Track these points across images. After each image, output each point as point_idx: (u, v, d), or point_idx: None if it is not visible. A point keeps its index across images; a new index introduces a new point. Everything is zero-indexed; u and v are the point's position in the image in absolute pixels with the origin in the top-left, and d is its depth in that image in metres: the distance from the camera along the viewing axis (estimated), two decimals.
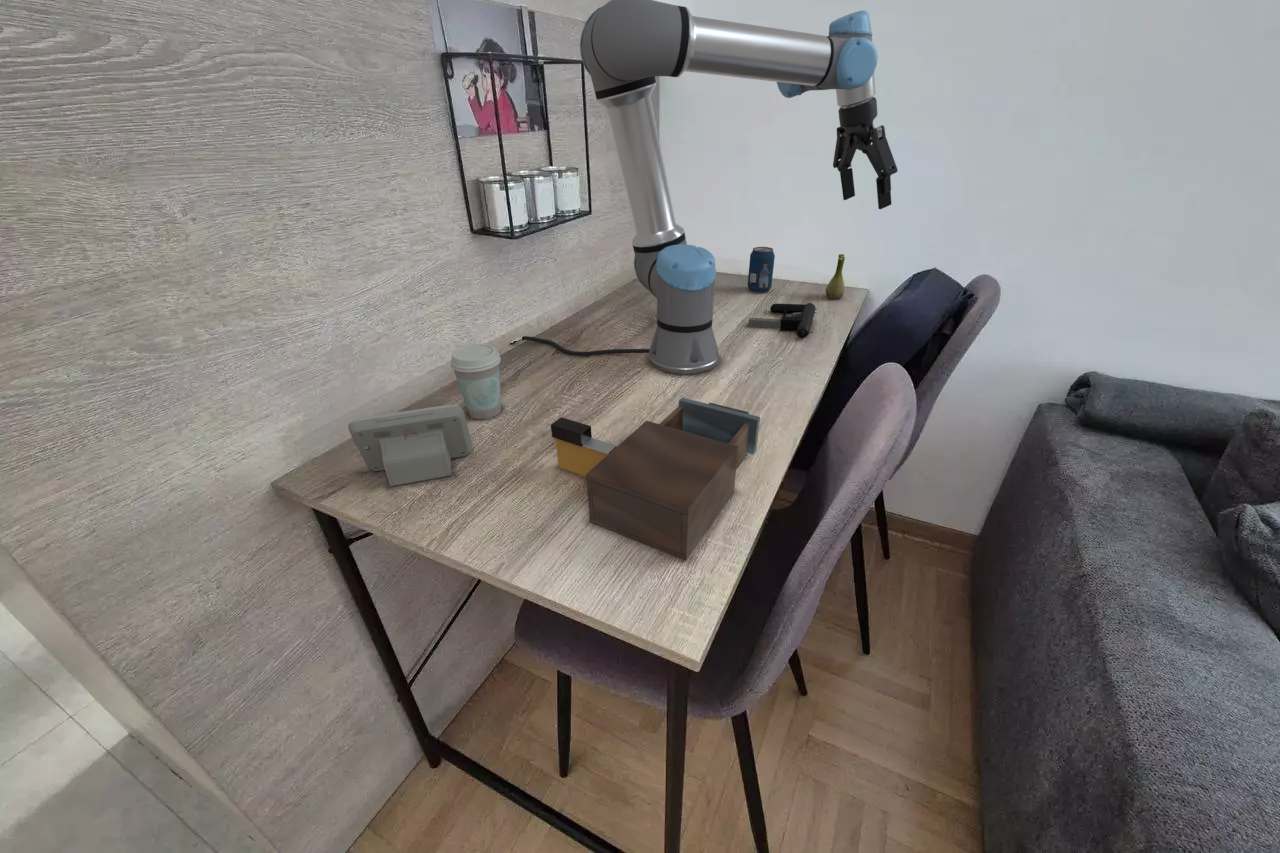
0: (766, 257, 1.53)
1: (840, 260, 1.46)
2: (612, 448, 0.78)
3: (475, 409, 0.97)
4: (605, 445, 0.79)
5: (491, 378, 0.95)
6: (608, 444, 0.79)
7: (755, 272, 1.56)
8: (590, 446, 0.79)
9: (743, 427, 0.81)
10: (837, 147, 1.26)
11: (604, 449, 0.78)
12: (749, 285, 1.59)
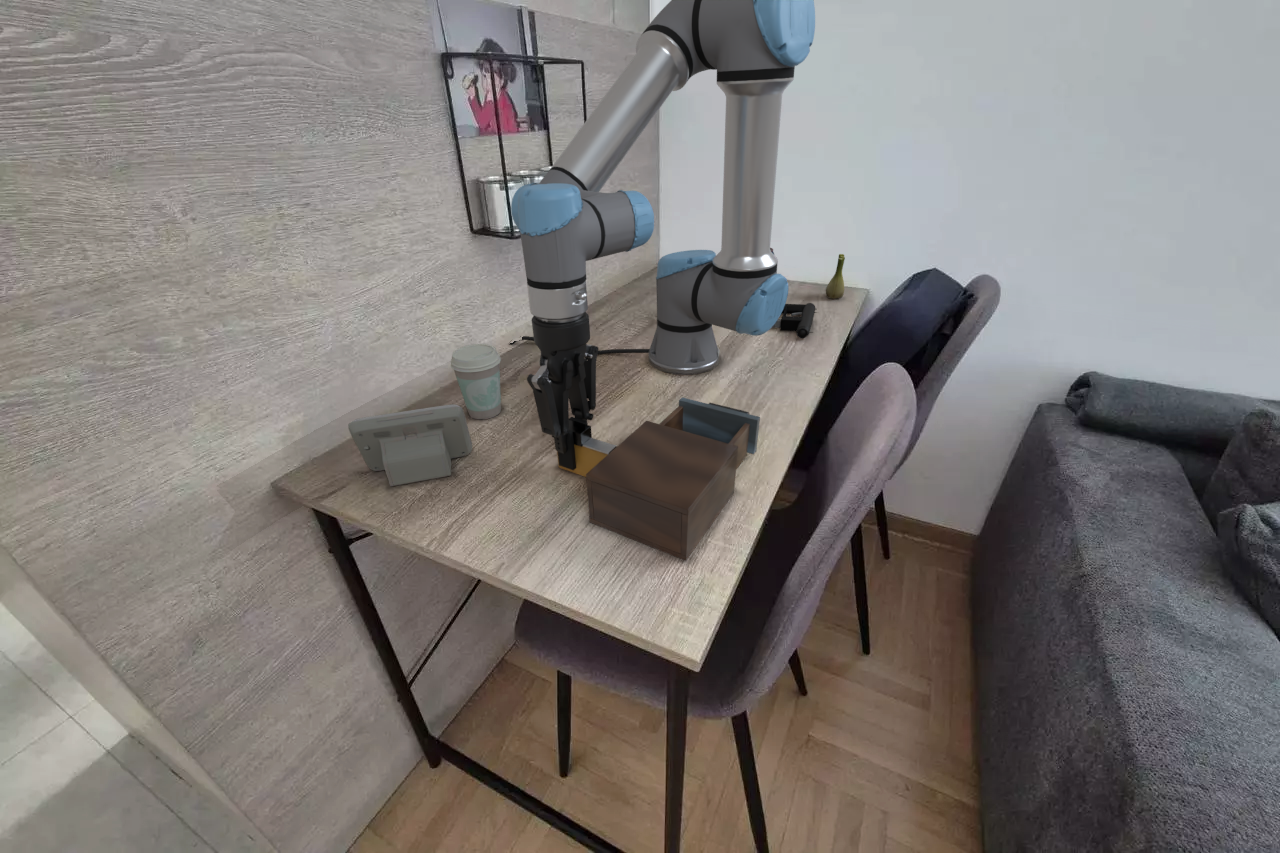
0: None
1: (840, 260, 1.46)
2: (612, 448, 0.78)
3: (475, 409, 0.97)
4: (605, 445, 0.79)
5: (491, 378, 0.95)
6: (608, 444, 0.79)
7: None
8: (590, 446, 0.79)
9: (743, 427, 0.81)
10: None
11: (604, 449, 0.78)
12: None
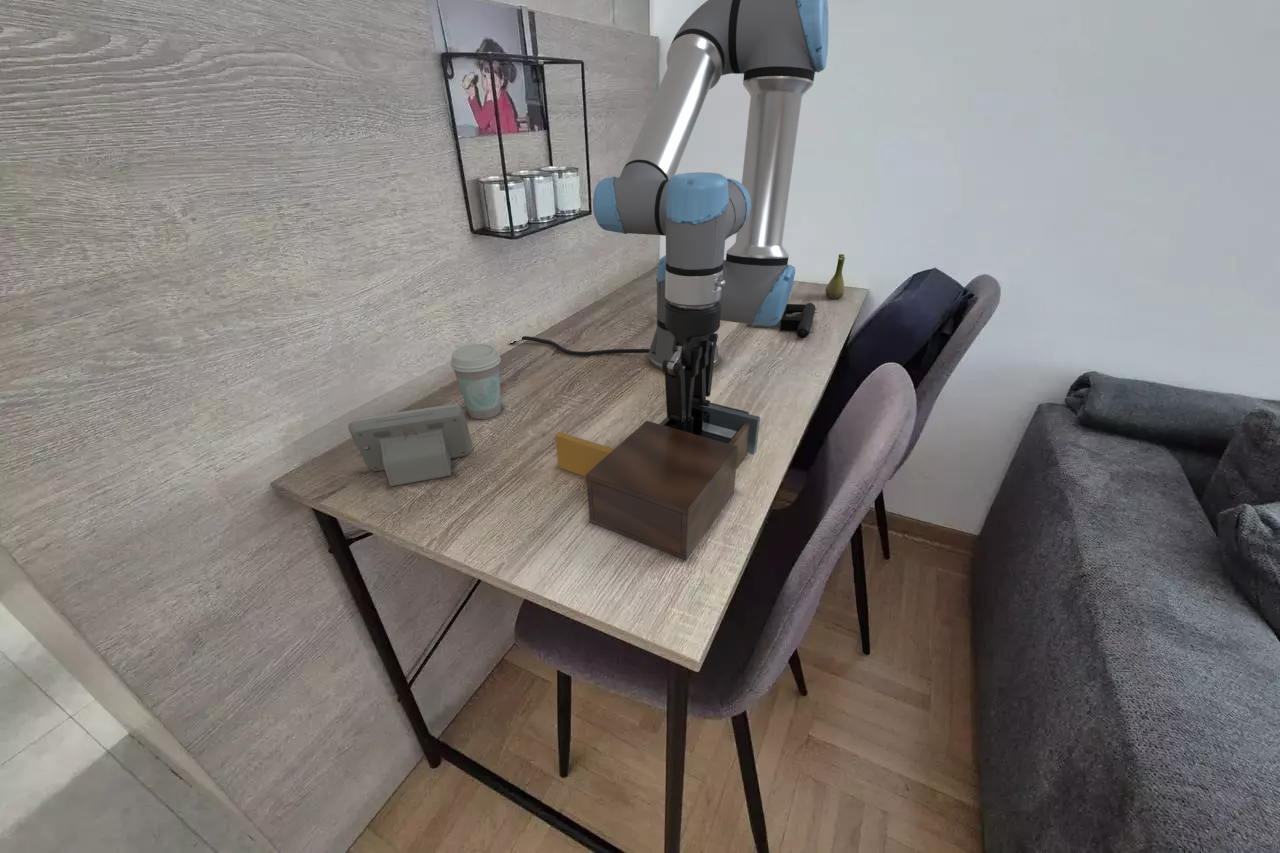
0: None
1: (840, 260, 1.46)
2: (733, 433, 0.80)
3: (475, 409, 0.97)
4: (725, 431, 0.80)
5: (491, 378, 0.95)
6: (728, 430, 0.81)
7: None
8: (711, 432, 0.80)
9: (743, 427, 0.81)
10: None
11: (726, 434, 0.79)
12: None
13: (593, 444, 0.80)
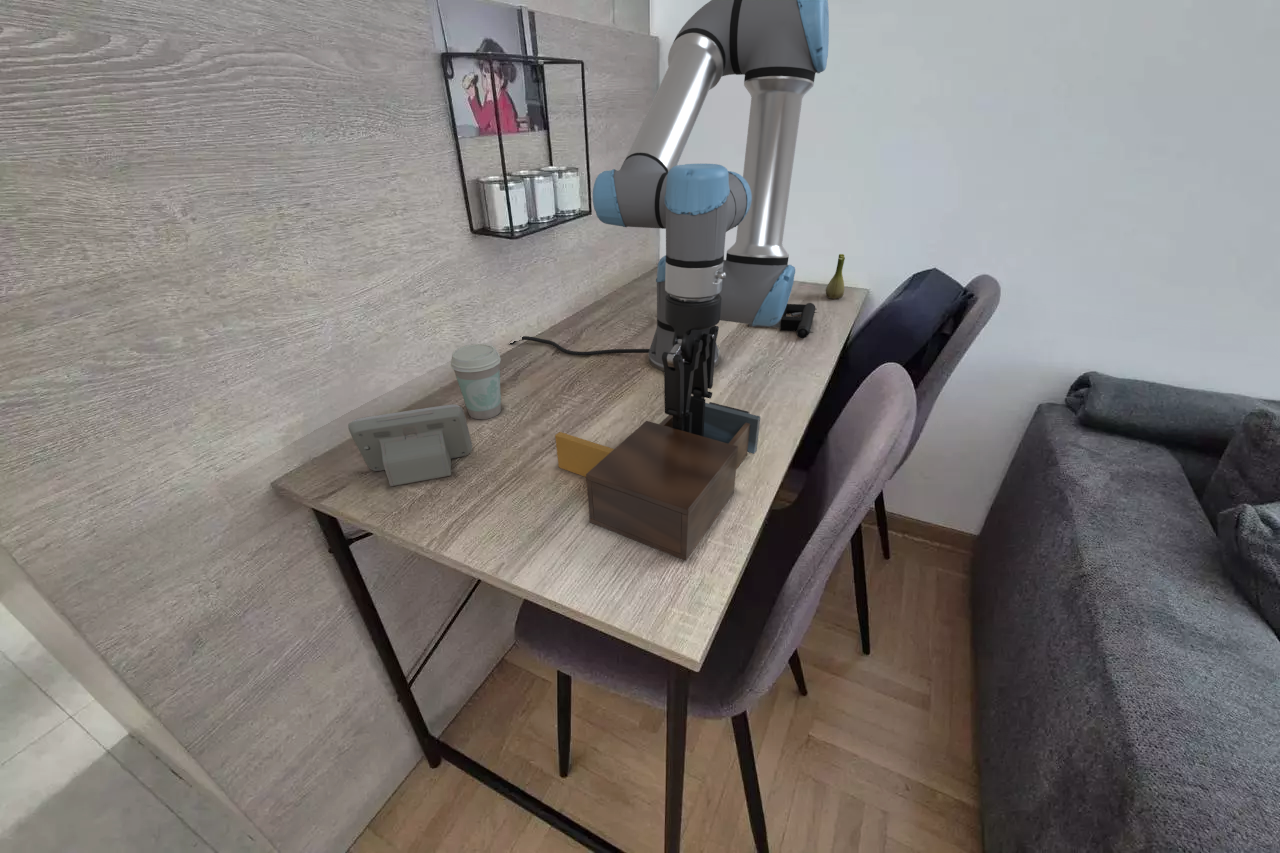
0: None
1: (840, 260, 1.46)
2: None
3: (475, 409, 0.97)
4: None
5: (491, 378, 0.95)
6: None
7: None
8: None
9: (743, 427, 0.81)
10: None
11: None
12: None
13: (593, 444, 0.80)
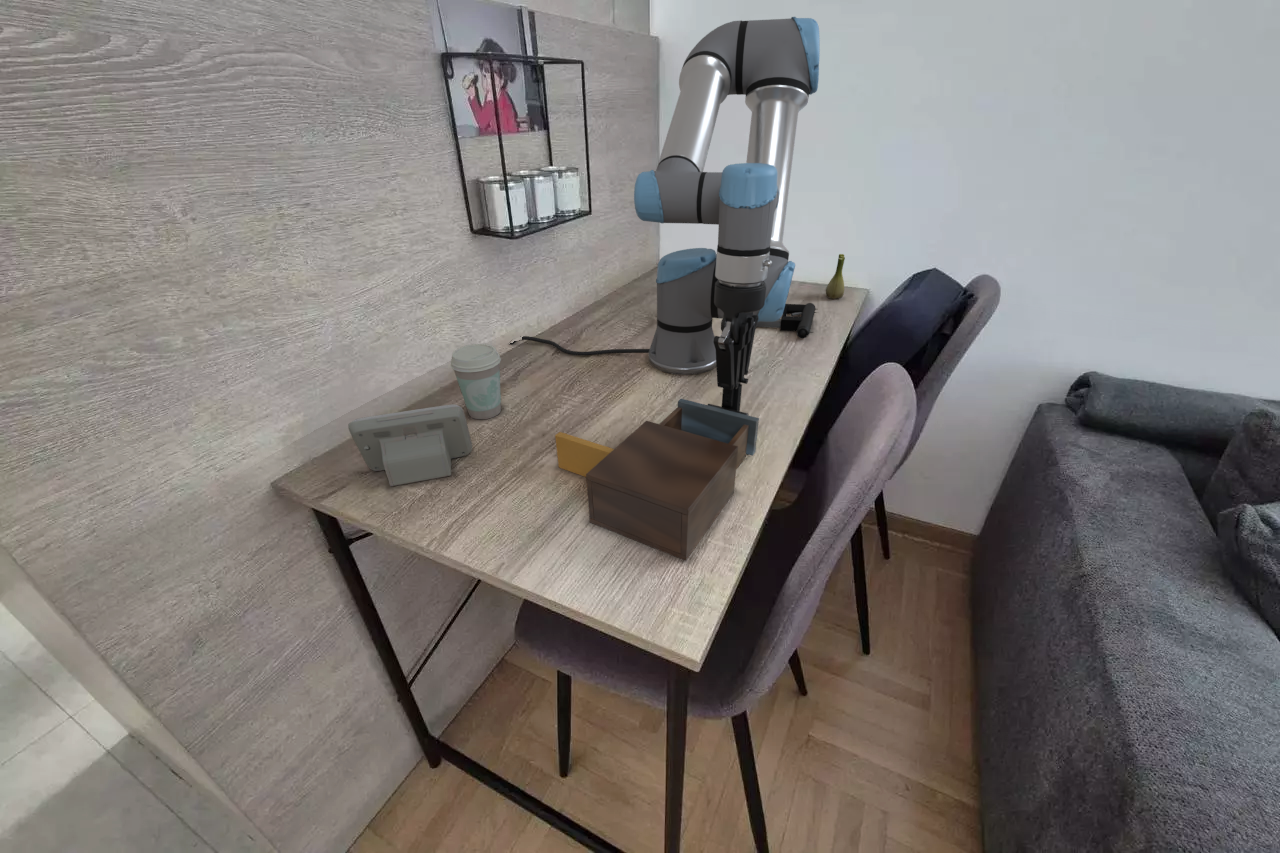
0: None
1: (840, 260, 1.46)
2: None
3: (475, 409, 0.97)
4: None
5: (491, 378, 0.95)
6: None
7: None
8: None
9: (742, 428, 0.81)
10: None
11: None
12: None
13: (593, 444, 0.80)
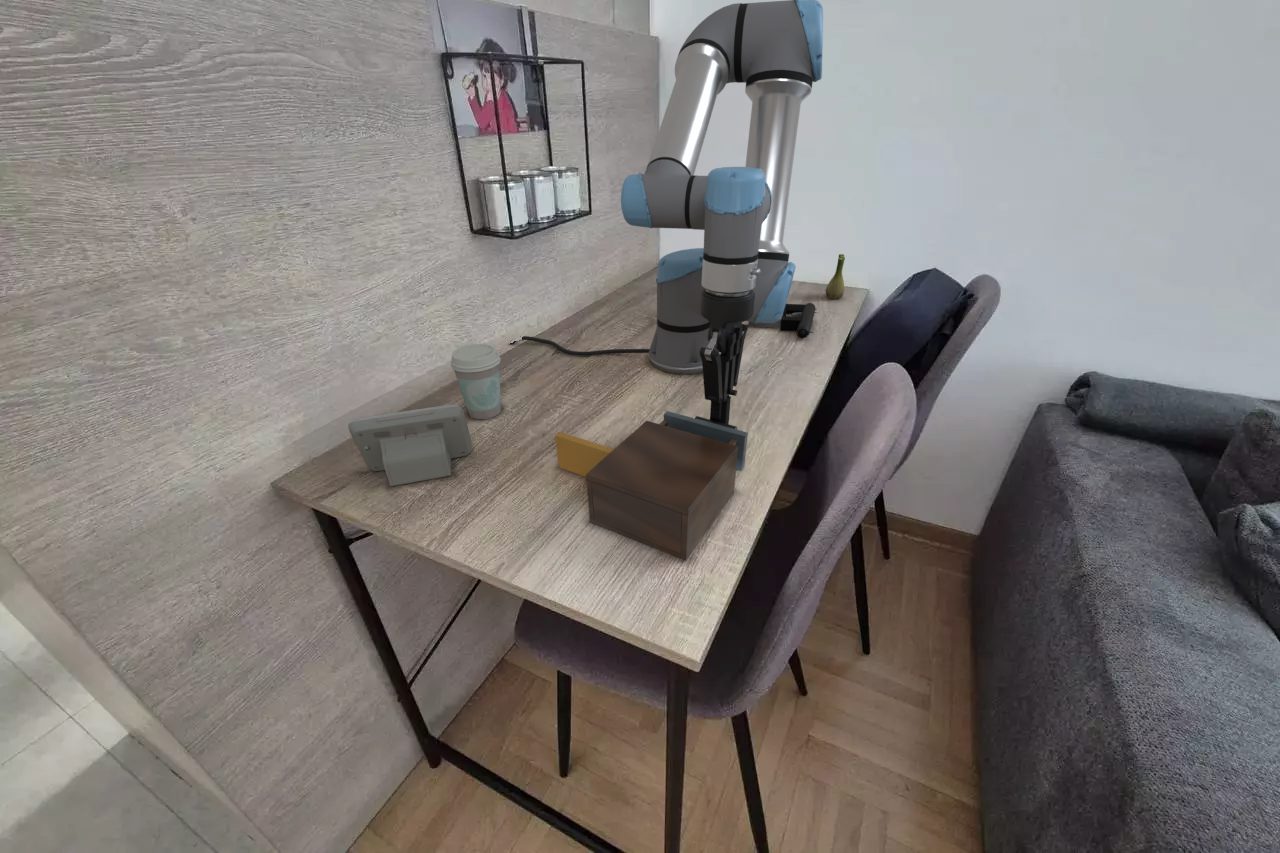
0: None
1: (840, 260, 1.46)
2: None
3: (475, 409, 0.97)
4: None
5: (491, 378, 0.95)
6: None
7: None
8: None
9: None
10: None
11: None
12: None
13: (593, 444, 0.80)
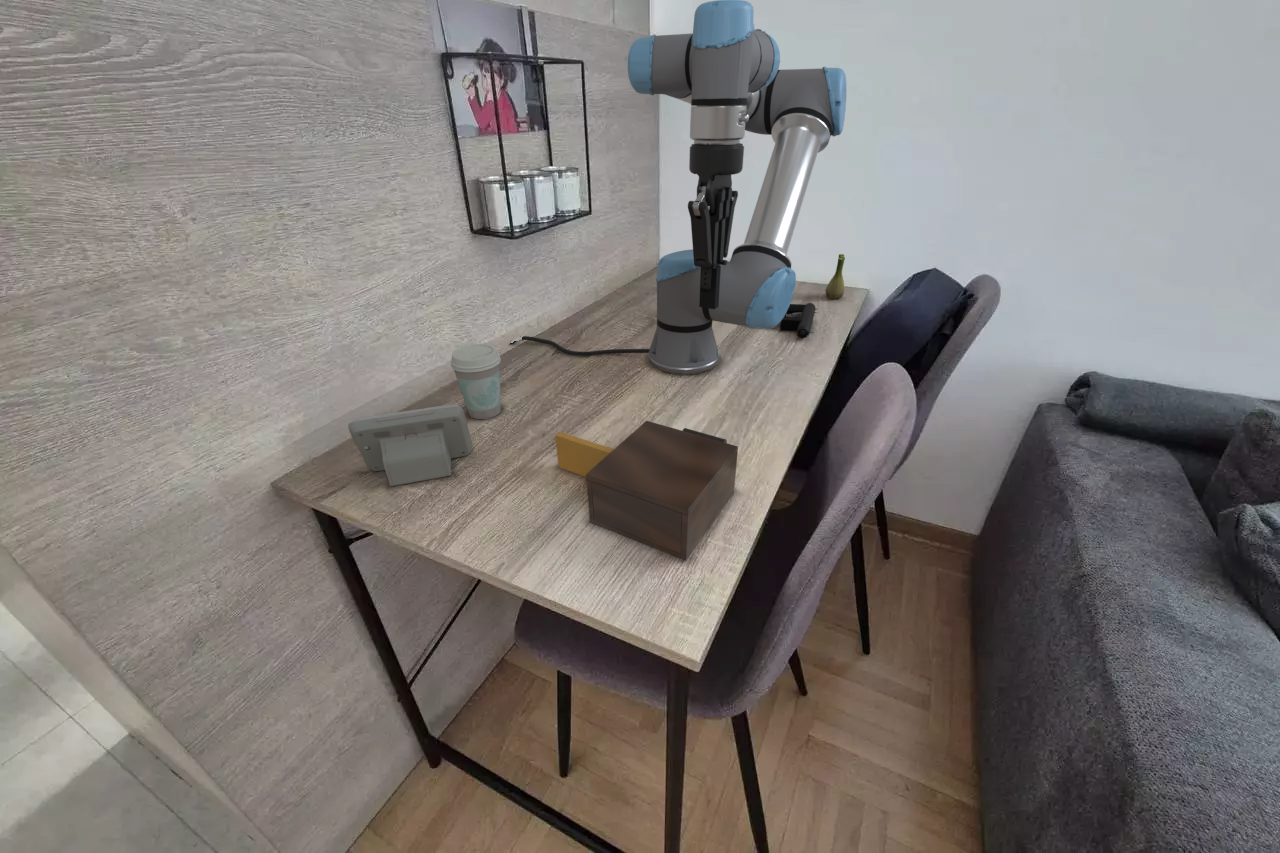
0: None
1: (840, 260, 1.46)
2: None
3: (475, 409, 0.97)
4: None
5: (491, 378, 0.95)
6: None
7: None
8: None
9: None
10: None
11: None
12: None
13: (593, 444, 0.80)
